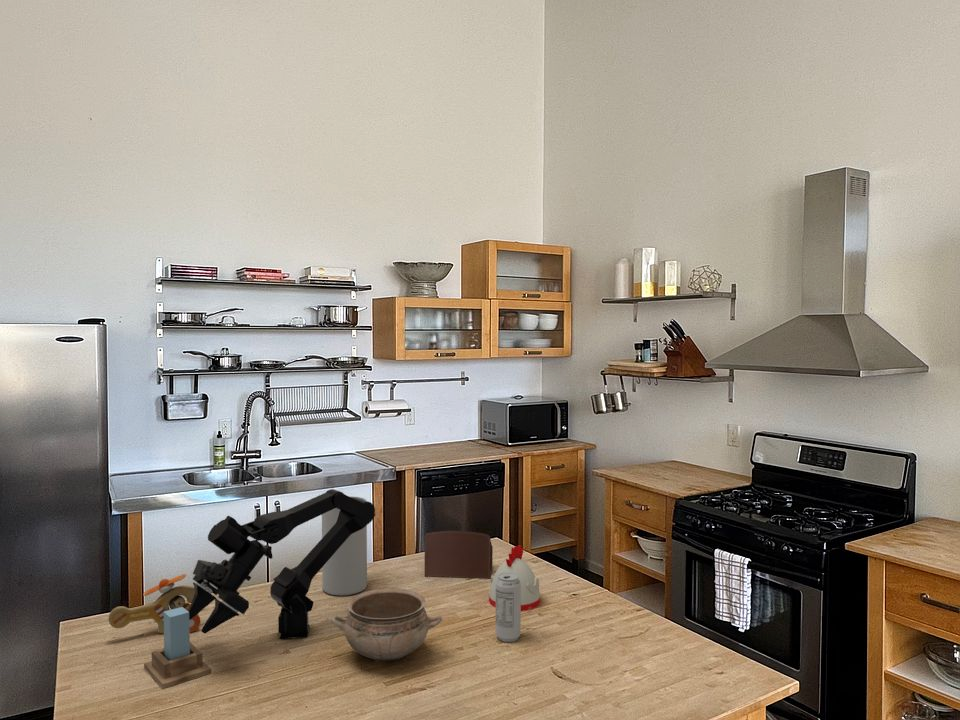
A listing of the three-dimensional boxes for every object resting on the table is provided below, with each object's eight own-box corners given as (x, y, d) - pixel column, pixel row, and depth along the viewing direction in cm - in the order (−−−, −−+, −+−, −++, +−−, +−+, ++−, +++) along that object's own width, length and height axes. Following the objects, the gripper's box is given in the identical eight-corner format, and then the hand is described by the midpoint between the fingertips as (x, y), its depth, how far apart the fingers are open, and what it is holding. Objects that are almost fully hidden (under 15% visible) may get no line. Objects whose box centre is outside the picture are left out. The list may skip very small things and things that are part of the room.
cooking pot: (444, 637, 172) (443, 587, 172) (439, 675, 153) (439, 620, 153) (340, 637, 172) (339, 587, 172) (323, 675, 153) (322, 620, 153)
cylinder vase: (362, 596, 197) (362, 507, 196) (317, 596, 197) (316, 507, 196) (370, 580, 210) (369, 496, 208) (328, 580, 210) (327, 496, 209)
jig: (190, 653, 163) (189, 636, 163) (211, 672, 154) (210, 654, 154) (144, 668, 156) (143, 650, 156) (163, 688, 148) (162, 670, 147)
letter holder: (490, 579, 211) (490, 532, 210) (424, 577, 213) (423, 530, 212) (492, 568, 221) (492, 523, 220) (429, 566, 223) (429, 521, 222)
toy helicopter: (205, 630, 176) (204, 575, 175) (110, 650, 165) (109, 592, 164) (198, 618, 183) (197, 565, 182) (107, 637, 172) (106, 581, 171)
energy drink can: (525, 637, 172) (525, 576, 171) (509, 645, 168) (509, 582, 167) (506, 629, 176) (507, 570, 175) (490, 637, 172) (490, 576, 171)
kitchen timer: (548, 598, 197) (549, 544, 196) (524, 615, 185) (524, 558, 184) (505, 588, 204) (505, 536, 203) (479, 604, 193) (479, 549, 192)
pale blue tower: (183, 659, 158) (182, 606, 158) (190, 666, 155) (189, 612, 155) (164, 665, 156) (163, 611, 155) (171, 672, 153) (170, 617, 152)
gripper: (199, 536, 167) (152, 595, 160) (233, 556, 153) (182, 621, 147) (233, 561, 173) (189, 619, 166) (268, 582, 159) (222, 646, 152)
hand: (194, 625), depth 158 cm, fingers open, 9 cm apart
